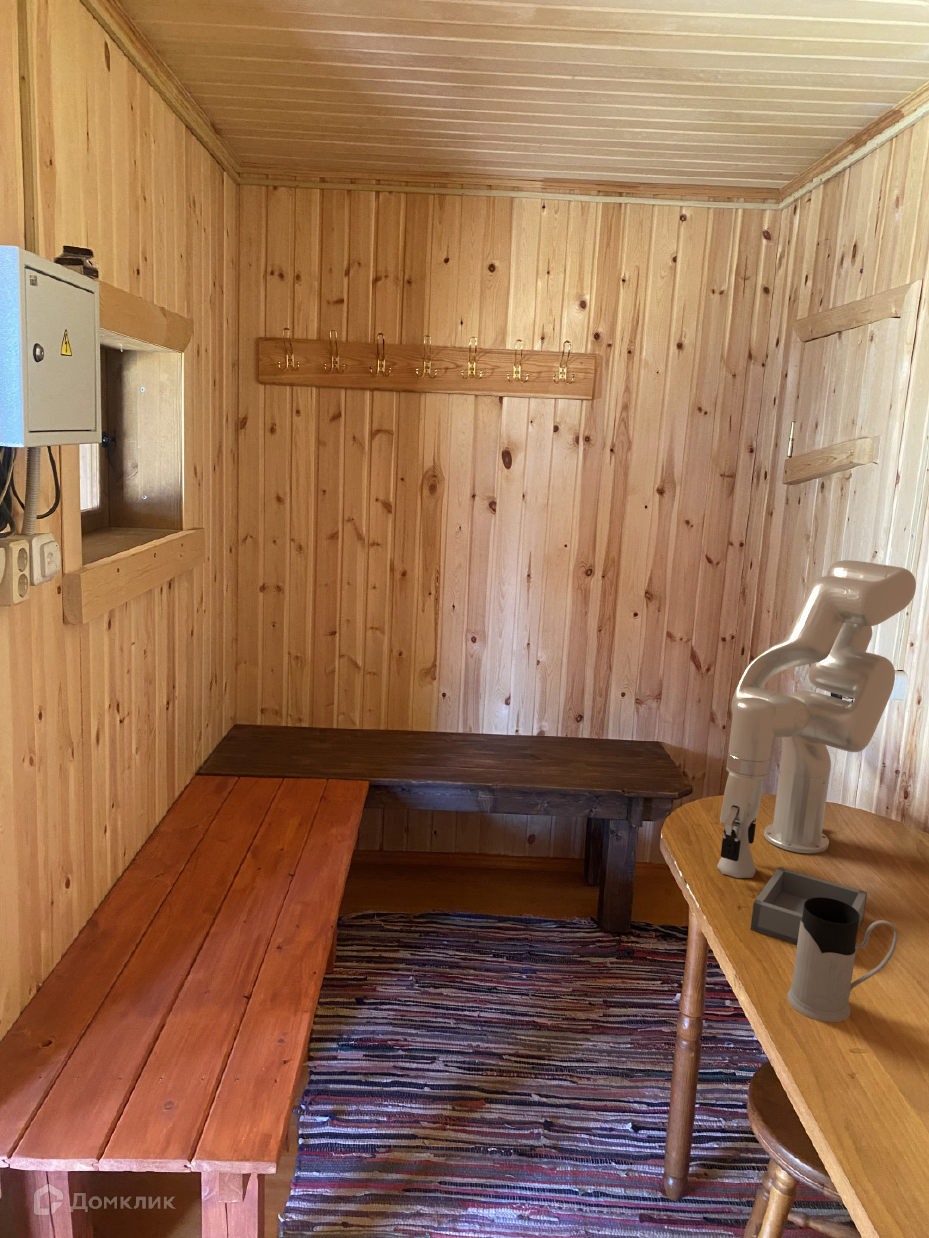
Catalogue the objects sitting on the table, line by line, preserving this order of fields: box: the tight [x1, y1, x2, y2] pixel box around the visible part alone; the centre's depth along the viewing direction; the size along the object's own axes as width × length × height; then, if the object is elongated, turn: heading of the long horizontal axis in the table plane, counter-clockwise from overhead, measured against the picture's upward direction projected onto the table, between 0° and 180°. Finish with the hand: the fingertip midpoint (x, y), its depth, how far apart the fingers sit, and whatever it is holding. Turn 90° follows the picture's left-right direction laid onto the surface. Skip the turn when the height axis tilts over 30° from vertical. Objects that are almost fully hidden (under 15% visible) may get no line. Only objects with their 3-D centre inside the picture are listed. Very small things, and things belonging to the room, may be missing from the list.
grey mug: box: [786, 897, 899, 1023], centre depth 133 cm, size 9×14×15 cm, turn 88°
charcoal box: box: [749, 866, 868, 946], centre depth 156 cm, size 16×15×5 cm
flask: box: [716, 822, 757, 879], centre depth 174 cm, size 7×7×10 cm
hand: (737, 849), depth 174 cm, fingers open, 9 cm apart
